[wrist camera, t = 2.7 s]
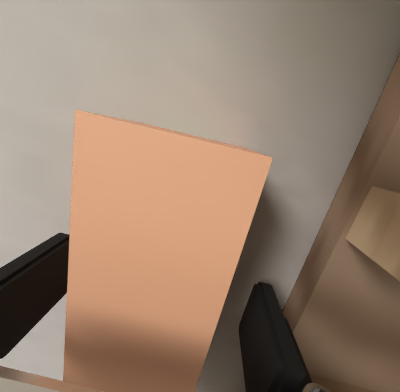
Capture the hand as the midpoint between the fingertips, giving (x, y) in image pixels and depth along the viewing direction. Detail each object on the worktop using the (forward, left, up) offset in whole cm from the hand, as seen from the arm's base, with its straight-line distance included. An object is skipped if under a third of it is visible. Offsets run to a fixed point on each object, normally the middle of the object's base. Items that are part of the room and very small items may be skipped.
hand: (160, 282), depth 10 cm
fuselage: (0, 0, -2) cm, 2 cm away
